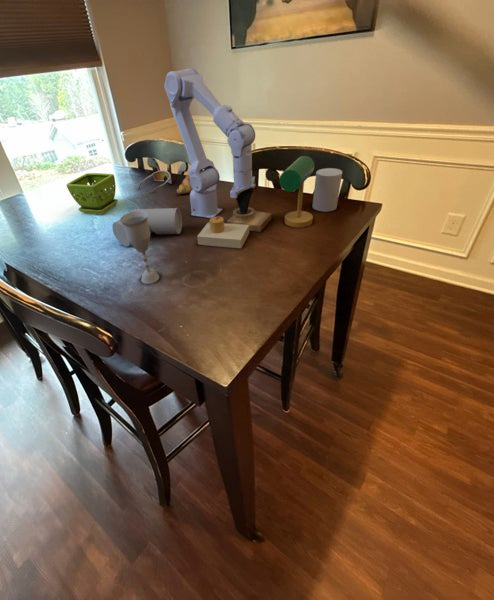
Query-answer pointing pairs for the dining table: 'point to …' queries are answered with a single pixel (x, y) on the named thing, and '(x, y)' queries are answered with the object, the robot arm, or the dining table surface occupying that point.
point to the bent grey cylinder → (153, 223)
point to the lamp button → (243, 212)
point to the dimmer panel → (224, 236)
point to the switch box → (251, 219)
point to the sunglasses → (159, 178)
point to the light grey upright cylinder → (326, 189)
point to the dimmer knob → (217, 224)
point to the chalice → (140, 240)
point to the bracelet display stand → (290, 183)
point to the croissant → (185, 186)
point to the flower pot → (94, 192)
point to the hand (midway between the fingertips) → (243, 211)
